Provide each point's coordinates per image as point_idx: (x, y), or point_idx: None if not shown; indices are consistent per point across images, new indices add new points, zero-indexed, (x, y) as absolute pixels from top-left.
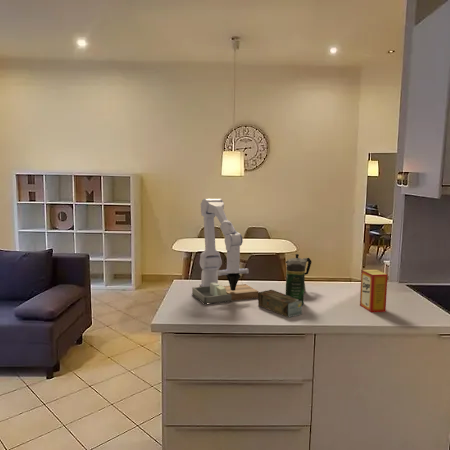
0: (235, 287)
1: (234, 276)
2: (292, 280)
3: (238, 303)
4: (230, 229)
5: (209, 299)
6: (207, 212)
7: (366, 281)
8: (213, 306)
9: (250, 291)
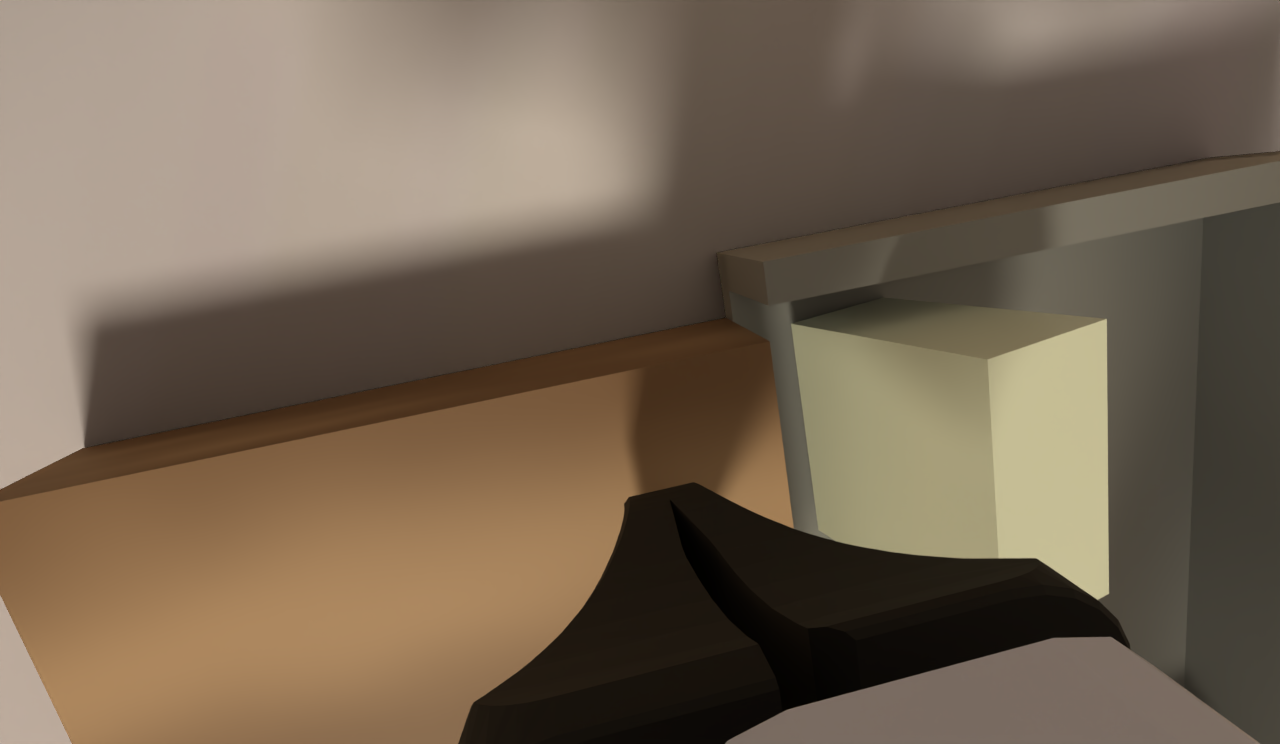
0: (630, 516)
1: (866, 630)
2: None
3: (605, 110)
4: None
5: (1212, 165)
6: None
7: None
8: (1109, 12)
9: (205, 513)
